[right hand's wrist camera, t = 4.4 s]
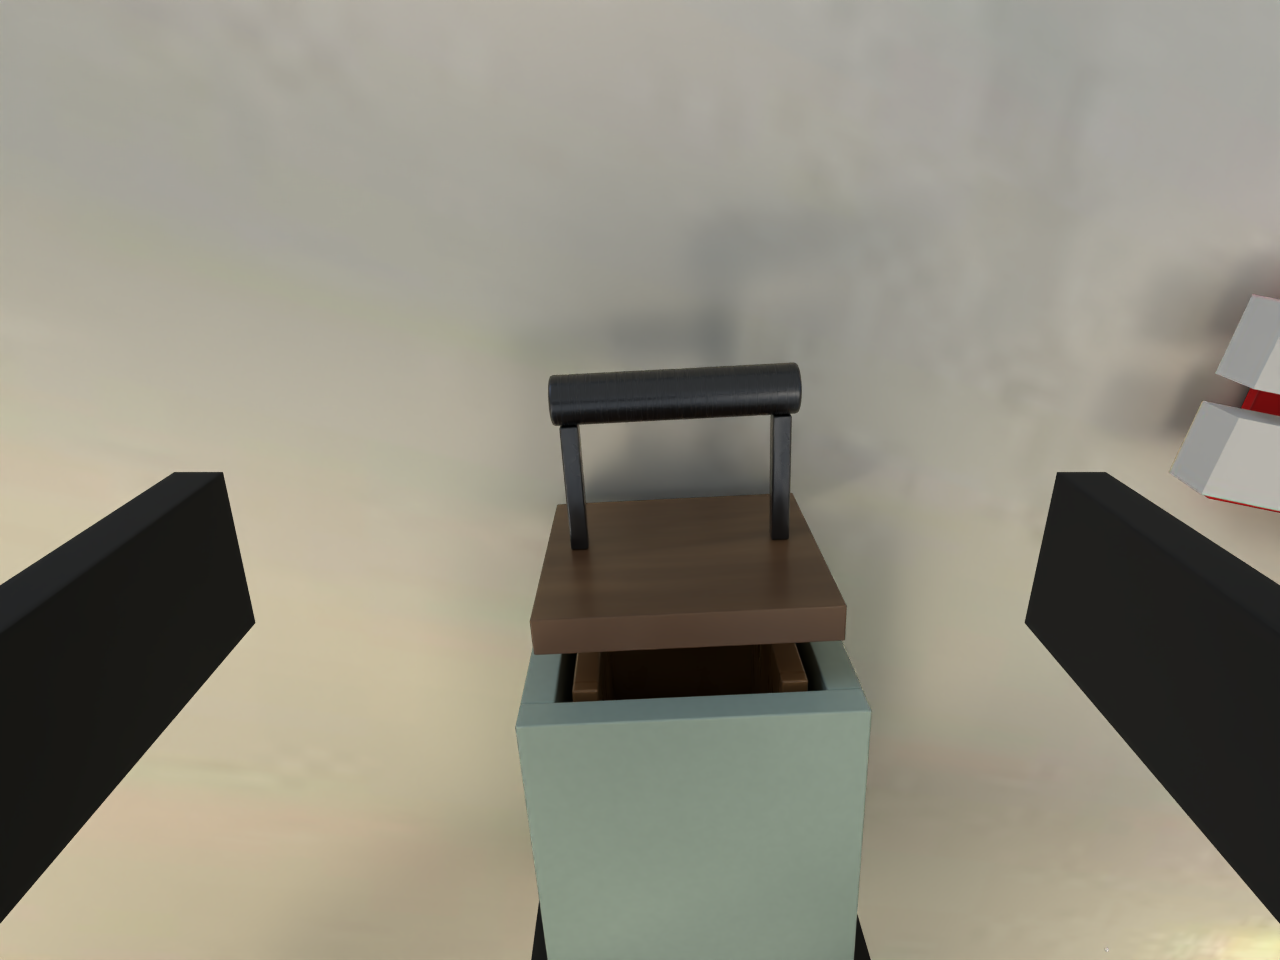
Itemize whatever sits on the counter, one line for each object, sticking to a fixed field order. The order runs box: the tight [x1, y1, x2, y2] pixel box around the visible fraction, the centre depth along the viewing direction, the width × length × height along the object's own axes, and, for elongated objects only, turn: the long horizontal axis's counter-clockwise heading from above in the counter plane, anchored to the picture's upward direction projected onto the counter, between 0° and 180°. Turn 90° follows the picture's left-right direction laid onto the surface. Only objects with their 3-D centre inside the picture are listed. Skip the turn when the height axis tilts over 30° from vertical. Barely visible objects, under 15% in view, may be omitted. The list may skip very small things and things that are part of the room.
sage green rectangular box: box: [515, 641, 872, 960], centre depth 30 cm, size 18×10×10 cm, turn 3°
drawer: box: [530, 363, 847, 702], centre depth 28 cm, size 22×9×8 cm, turn 3°
